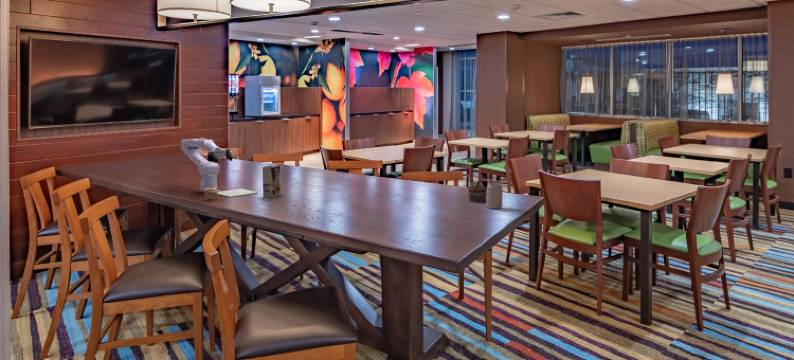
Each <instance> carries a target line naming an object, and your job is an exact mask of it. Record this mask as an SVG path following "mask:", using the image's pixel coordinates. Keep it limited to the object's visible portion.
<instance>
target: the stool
mask: <svg viewBox="0 0 794 360" xmlns="http://www.w3.org/2000/svg"><path fill="white" fill-rule="evenodd" d="M218 190H219V188H218V187H217V188H206V189H204V192H203V193H204V200H205V201H208V200H209V199H210V197H211V196H210V193H211V194H212V200H213V201H216V199H218V195H217V191H218Z"/></svg>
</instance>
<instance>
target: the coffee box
mask: <svg viewBox="0 0 794 360" xmlns="http://www.w3.org/2000/svg"><path fill="white" fill-rule="evenodd" d="M262 196H263V198H276V197H279V196H281V165H277V164H276V165H275V164H274V165H273V164H272V165H270V164H269V165H266V166H265V165H264V166H263V167H262Z"/></svg>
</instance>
